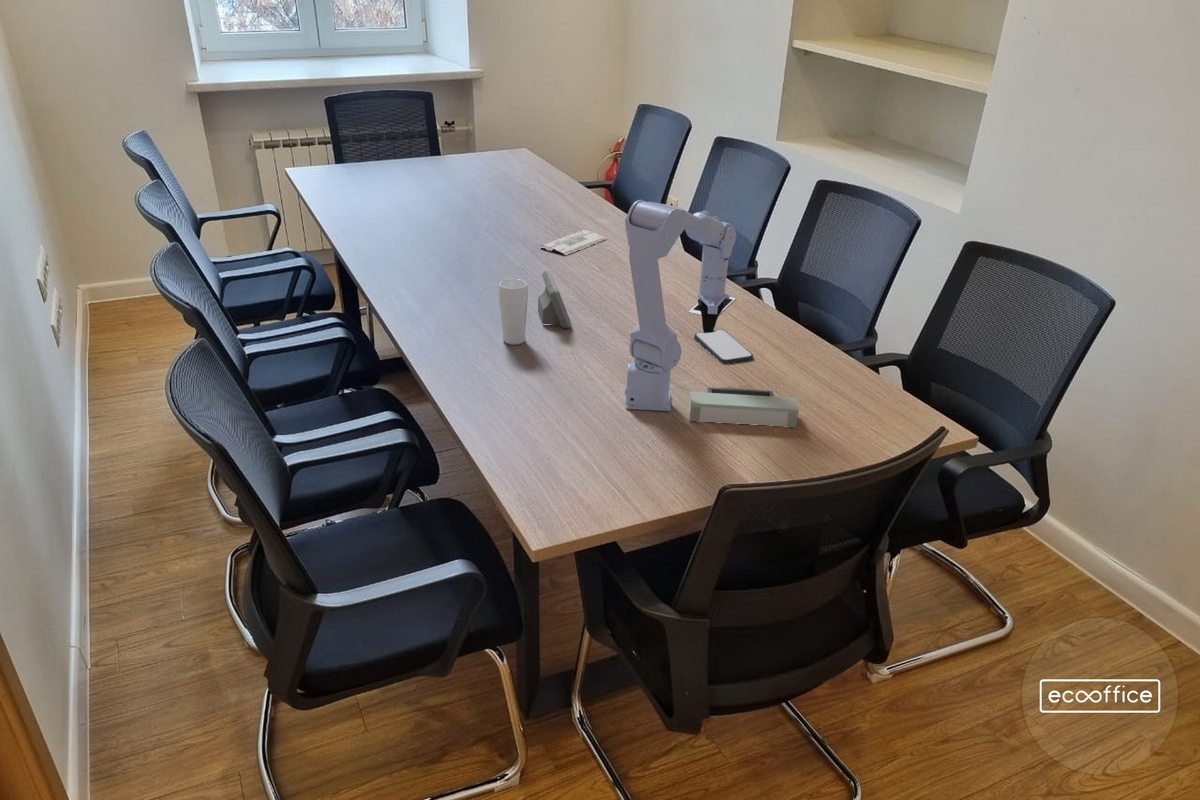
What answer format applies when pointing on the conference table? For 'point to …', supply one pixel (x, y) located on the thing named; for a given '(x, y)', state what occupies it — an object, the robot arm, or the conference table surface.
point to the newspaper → (575, 241)
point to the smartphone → (723, 346)
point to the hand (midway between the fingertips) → (707, 331)
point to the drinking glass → (513, 310)
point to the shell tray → (740, 391)
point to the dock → (743, 409)
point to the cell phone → (725, 303)
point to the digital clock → (552, 304)
